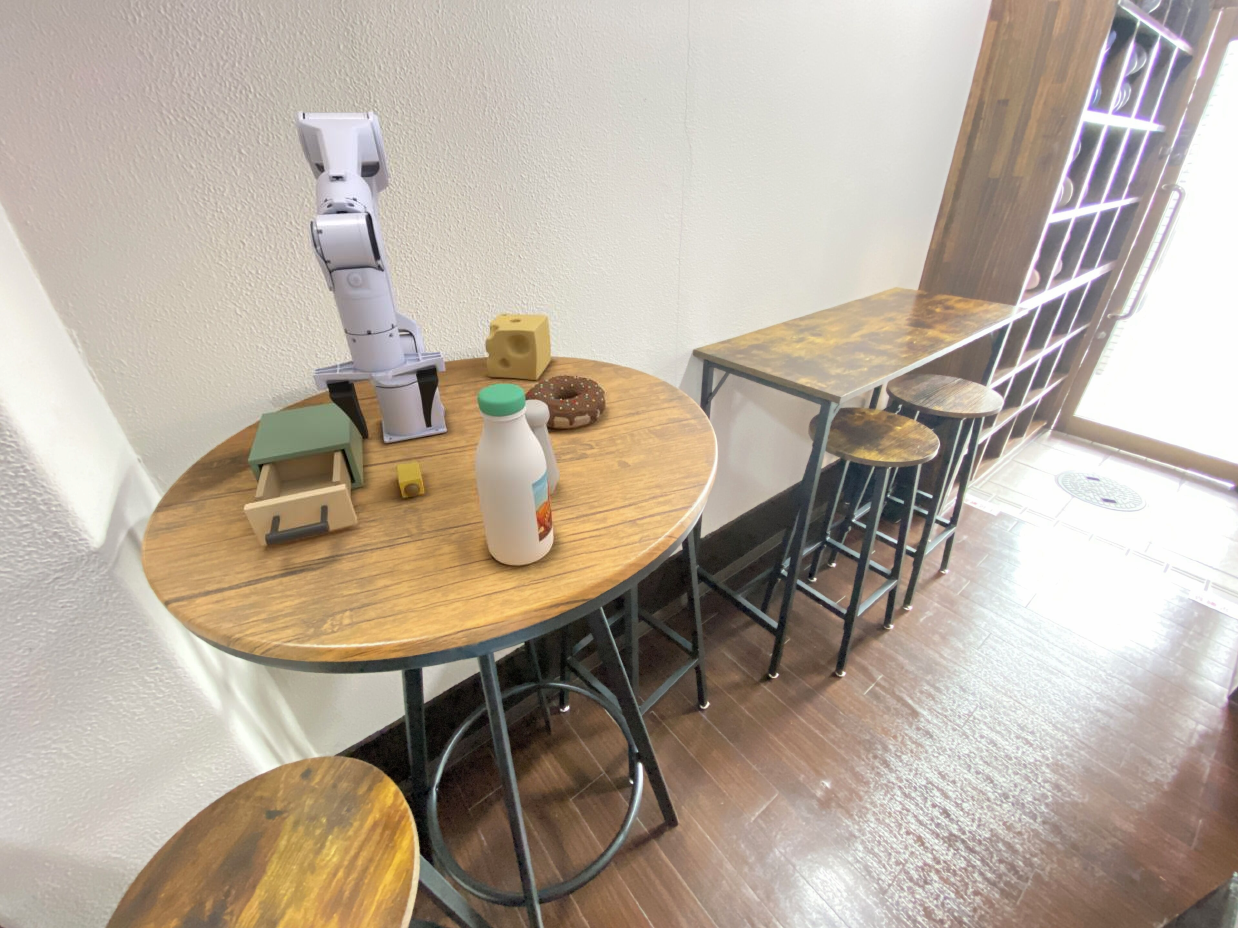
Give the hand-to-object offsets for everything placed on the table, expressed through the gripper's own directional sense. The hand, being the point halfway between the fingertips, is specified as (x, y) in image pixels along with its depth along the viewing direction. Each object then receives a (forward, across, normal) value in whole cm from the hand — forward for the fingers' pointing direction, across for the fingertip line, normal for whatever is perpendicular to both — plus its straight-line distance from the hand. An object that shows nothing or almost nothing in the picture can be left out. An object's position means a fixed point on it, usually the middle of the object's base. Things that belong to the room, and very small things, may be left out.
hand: (397, 429), depth 69 cm
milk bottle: (+9, +11, -18) cm, 23 cm away
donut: (+9, +26, +12) cm, 30 cm away
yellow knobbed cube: (+9, 0, -1) cm, 9 cm away
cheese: (+9, +24, +34) cm, 43 cm away
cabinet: (+9, -12, +9) cm, 17 cm away
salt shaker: (+9, +16, -8) cm, 20 cm away
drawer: (+8, -12, -4) cm, 15 cm away
